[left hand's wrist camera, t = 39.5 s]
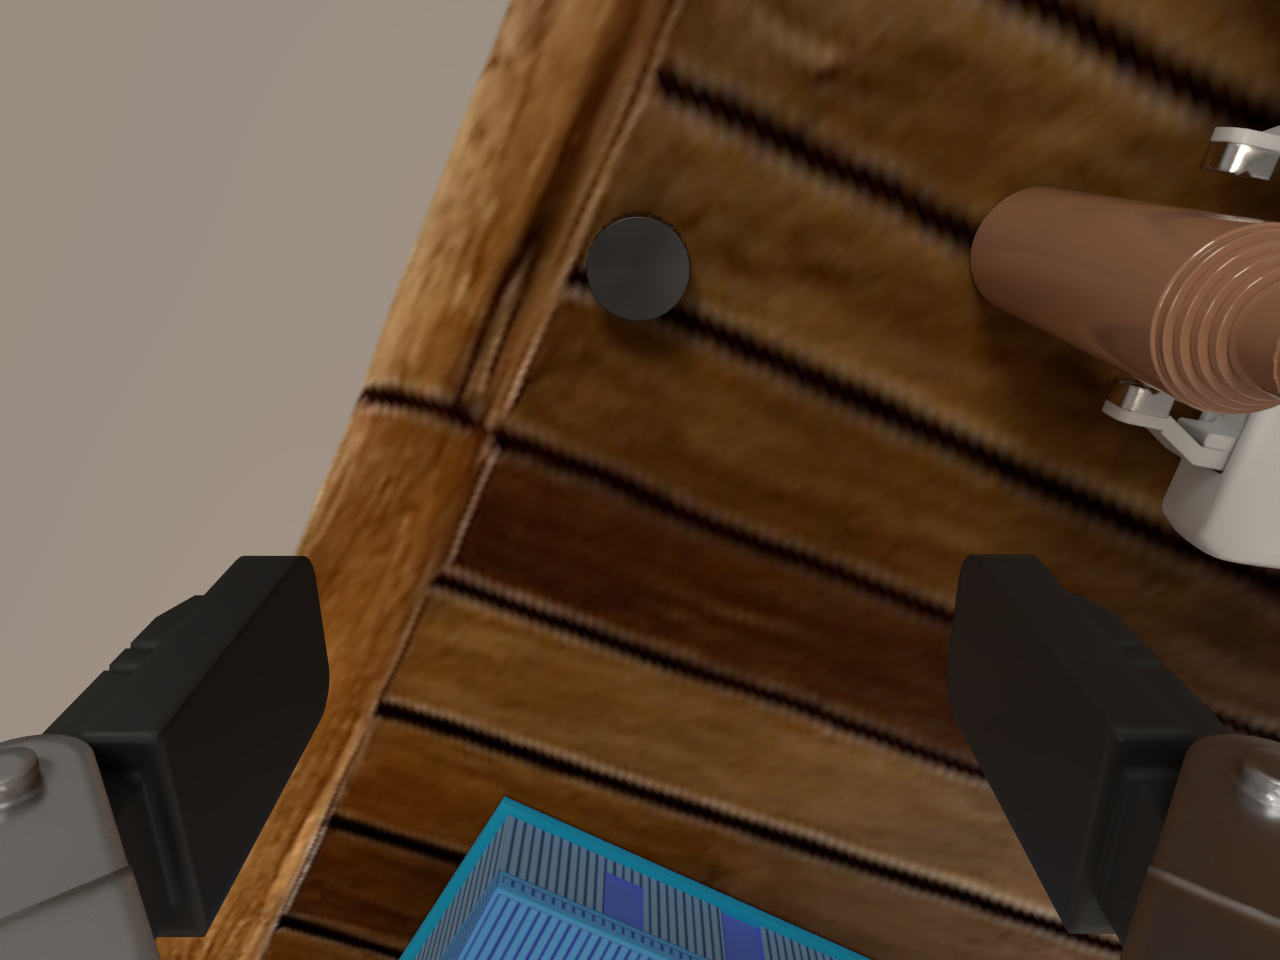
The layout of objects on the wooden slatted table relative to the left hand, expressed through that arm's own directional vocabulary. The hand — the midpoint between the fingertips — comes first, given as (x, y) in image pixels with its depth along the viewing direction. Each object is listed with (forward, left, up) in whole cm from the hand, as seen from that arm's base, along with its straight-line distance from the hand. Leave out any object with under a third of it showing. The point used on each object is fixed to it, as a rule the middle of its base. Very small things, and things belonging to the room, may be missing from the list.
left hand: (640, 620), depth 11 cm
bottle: (-9, +15, -31) cm, 35 cm away
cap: (0, 0, -29) cm, 29 cm away
